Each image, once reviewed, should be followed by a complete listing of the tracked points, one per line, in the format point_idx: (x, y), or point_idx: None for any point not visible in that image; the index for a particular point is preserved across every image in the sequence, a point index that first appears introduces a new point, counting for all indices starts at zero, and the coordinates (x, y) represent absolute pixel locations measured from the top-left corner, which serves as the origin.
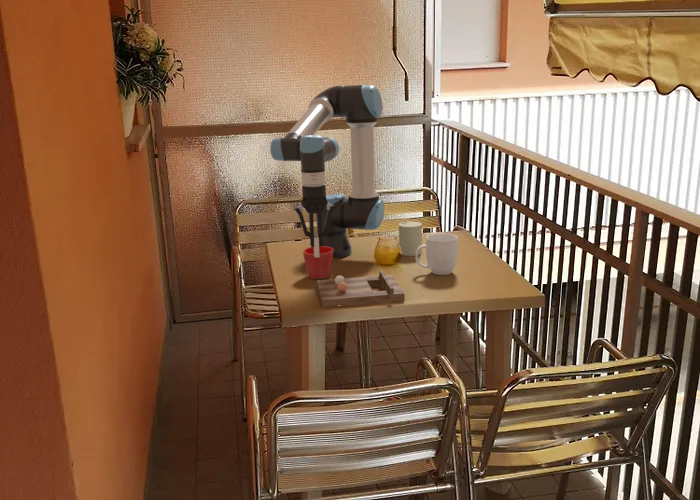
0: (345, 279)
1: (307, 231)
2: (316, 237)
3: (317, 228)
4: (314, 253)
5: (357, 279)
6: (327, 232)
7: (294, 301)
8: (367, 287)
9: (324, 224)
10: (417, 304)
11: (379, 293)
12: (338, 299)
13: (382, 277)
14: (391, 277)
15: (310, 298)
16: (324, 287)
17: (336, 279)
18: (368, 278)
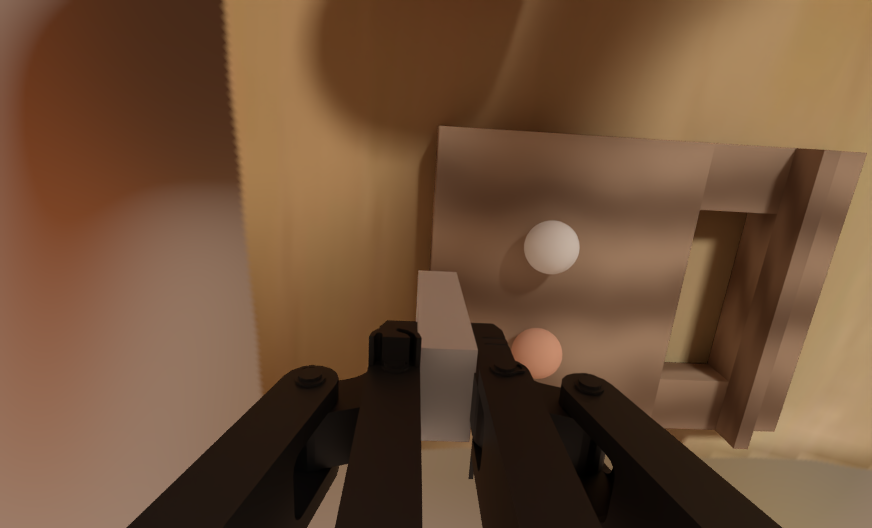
0: (599, 156)
1: (317, 503)
2: (445, 425)
3: (490, 421)
4: (416, 316)
5: (660, 178)
6: (600, 479)
7: (306, 298)
8: (660, 317)
9: (635, 460)
10: (774, 455)
11: (677, 407)
12: None
13: (783, 252)
14: (838, 199)
15: (382, 279)
16: (459, 259)
17: (533, 264)
18: (721, 179)
